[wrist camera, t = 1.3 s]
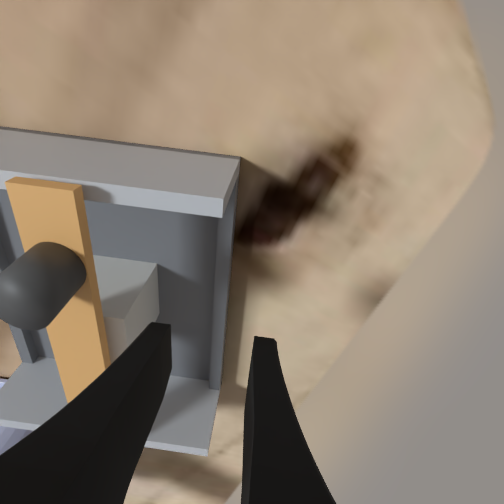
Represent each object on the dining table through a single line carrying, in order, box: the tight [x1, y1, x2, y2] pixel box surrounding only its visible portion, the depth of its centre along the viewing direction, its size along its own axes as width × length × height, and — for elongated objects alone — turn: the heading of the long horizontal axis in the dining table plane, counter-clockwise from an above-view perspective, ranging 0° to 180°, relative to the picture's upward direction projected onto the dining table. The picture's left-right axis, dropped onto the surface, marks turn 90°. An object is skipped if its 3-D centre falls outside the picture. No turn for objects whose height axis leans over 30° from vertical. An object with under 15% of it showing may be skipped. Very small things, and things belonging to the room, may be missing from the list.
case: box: [0, 126, 241, 456], centre depth 20 cm, size 18×15×6 cm
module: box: [93, 255, 160, 364], centre depth 20 cm, size 4×4×5 cm
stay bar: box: [0, 176, 111, 403], centre depth 16 cm, size 18×2×3 cm, turn 174°
